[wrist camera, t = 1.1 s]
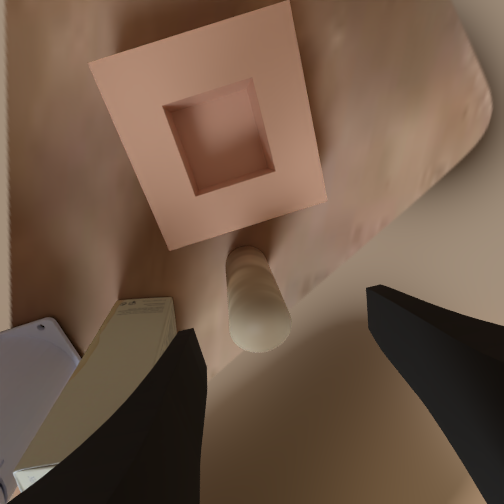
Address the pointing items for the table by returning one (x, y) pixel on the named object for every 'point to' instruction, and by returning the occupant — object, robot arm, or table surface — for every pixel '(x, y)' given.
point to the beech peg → (255, 302)
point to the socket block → (217, 124)
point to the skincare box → (100, 382)
